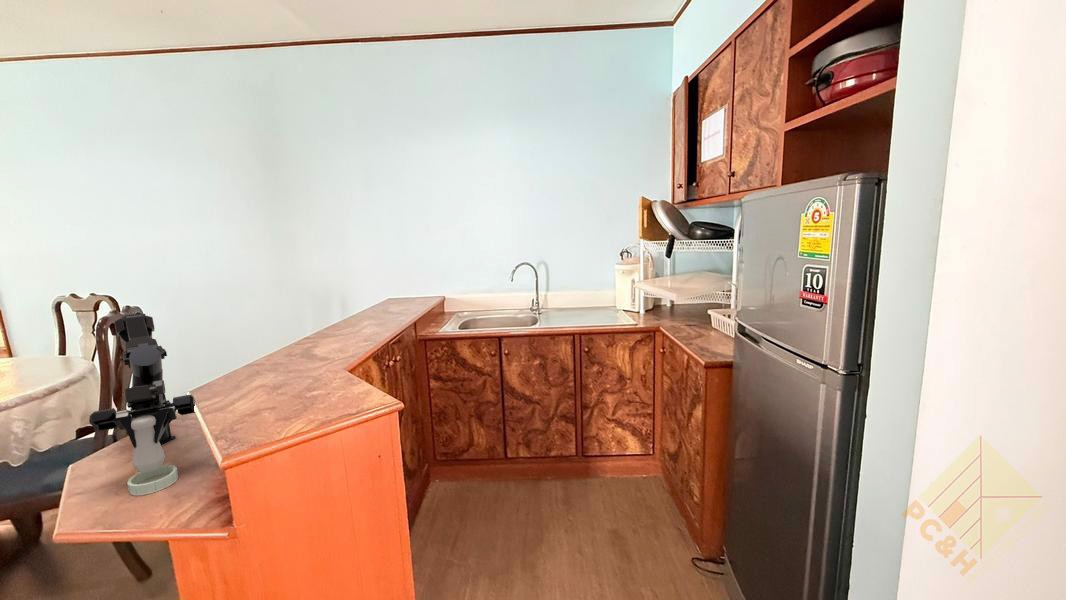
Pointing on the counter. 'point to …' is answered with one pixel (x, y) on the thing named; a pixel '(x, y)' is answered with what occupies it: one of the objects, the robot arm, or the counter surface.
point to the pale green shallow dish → (152, 480)
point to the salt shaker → (146, 445)
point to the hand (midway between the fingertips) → (145, 445)
